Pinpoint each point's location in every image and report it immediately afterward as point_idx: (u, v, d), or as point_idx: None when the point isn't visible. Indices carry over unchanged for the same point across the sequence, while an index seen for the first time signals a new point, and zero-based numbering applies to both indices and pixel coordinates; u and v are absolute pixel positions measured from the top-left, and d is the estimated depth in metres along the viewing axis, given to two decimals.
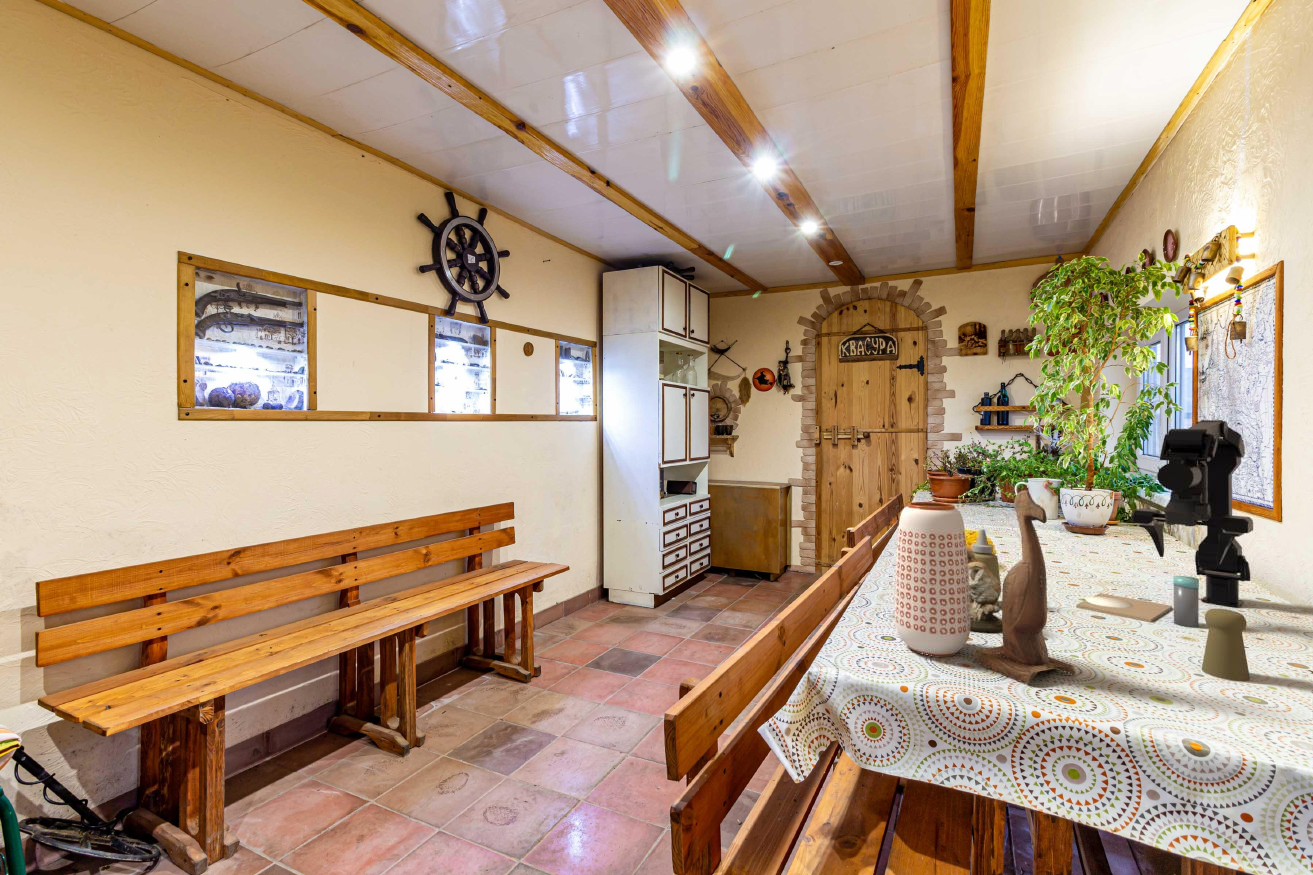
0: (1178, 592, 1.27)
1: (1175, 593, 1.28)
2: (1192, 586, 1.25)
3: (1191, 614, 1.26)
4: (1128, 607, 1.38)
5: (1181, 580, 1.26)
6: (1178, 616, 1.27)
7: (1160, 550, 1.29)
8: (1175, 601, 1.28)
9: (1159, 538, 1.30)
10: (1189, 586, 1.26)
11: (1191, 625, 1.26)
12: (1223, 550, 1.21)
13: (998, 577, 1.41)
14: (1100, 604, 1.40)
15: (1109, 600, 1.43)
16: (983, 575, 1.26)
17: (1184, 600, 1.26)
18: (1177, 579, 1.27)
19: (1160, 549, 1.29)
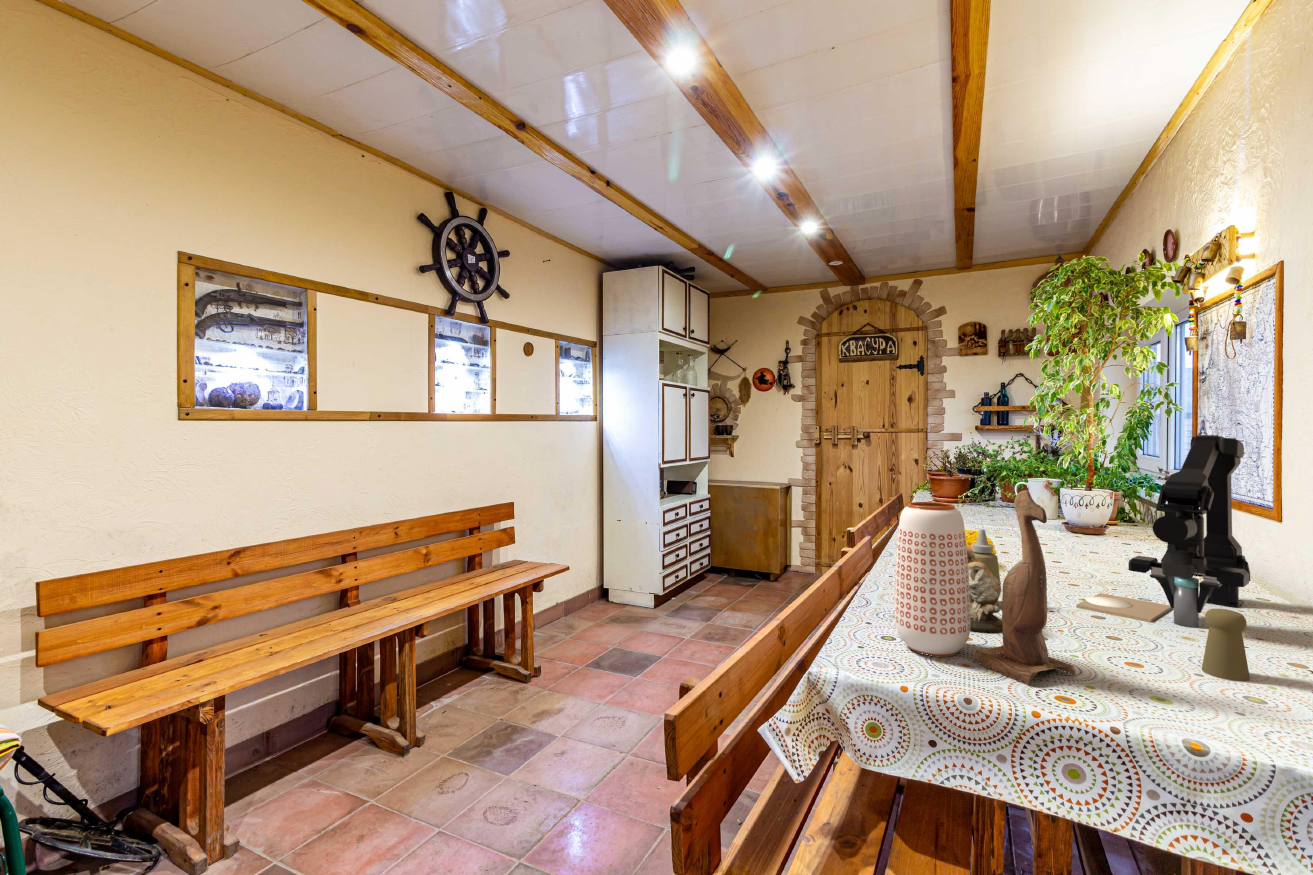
0: (1178, 592, 1.27)
1: (1175, 593, 1.28)
2: (1192, 586, 1.25)
3: (1191, 614, 1.26)
4: (1128, 607, 1.38)
5: (1181, 580, 1.26)
6: (1178, 616, 1.27)
7: (1171, 601, 1.29)
8: (1175, 601, 1.28)
9: (1170, 589, 1.29)
10: (1189, 586, 1.26)
11: (1191, 625, 1.26)
12: (1203, 599, 1.24)
13: (998, 577, 1.41)
14: (1100, 604, 1.40)
15: (1109, 600, 1.43)
16: (983, 575, 1.26)
17: (1184, 600, 1.26)
18: (1177, 579, 1.27)
19: (1171, 600, 1.29)
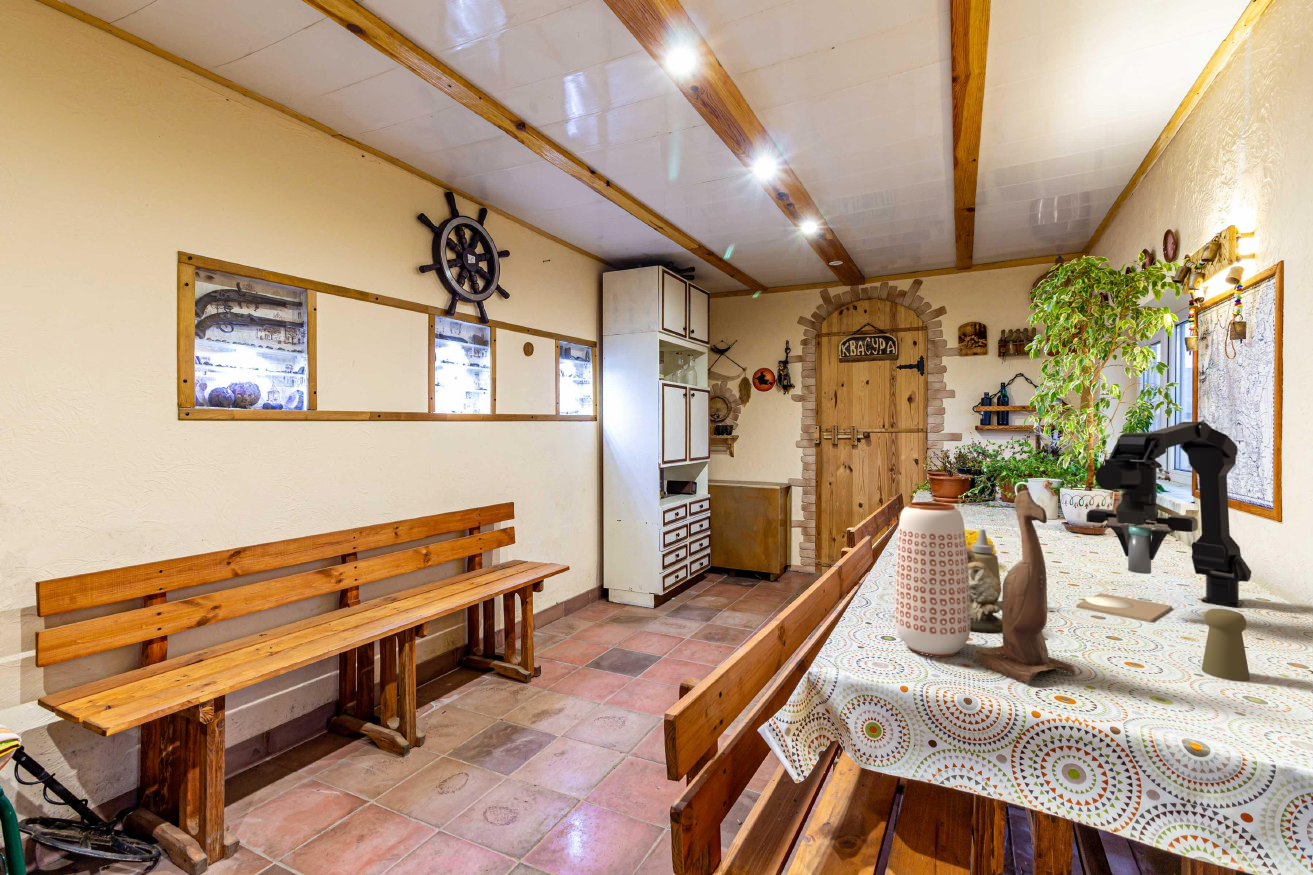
0: (1132, 540, 1.32)
1: (1129, 542, 1.33)
2: (1145, 534, 1.31)
3: (1144, 561, 1.31)
4: (1128, 607, 1.38)
5: (1135, 529, 1.32)
6: (1132, 563, 1.32)
7: (1126, 550, 1.34)
8: (1129, 549, 1.33)
9: (1125, 538, 1.34)
10: (1142, 534, 1.31)
11: (1144, 571, 1.31)
12: (1155, 546, 1.30)
13: (998, 577, 1.41)
14: (1100, 604, 1.40)
15: (1109, 600, 1.43)
16: (983, 575, 1.26)
17: (1137, 547, 1.32)
18: (1131, 528, 1.33)
19: (1126, 549, 1.34)
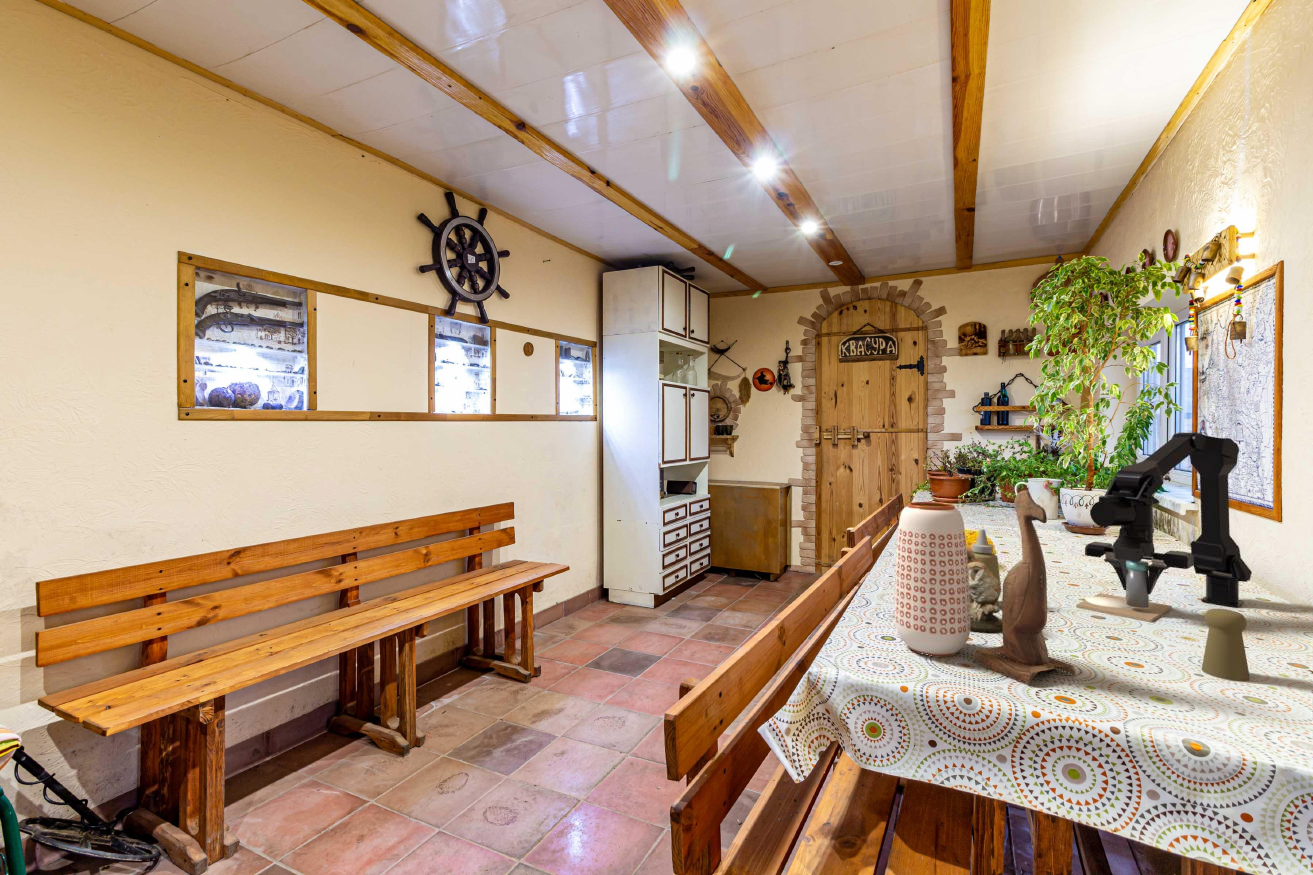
0: (1129, 575, 1.35)
1: (1127, 576, 1.36)
2: (1142, 569, 1.34)
3: (1141, 596, 1.34)
4: (1128, 607, 1.38)
5: (1132, 563, 1.35)
6: (1130, 597, 1.35)
7: (1124, 584, 1.37)
8: (1127, 583, 1.36)
9: (1123, 572, 1.37)
10: (1139, 569, 1.34)
11: (1141, 606, 1.34)
12: (1152, 581, 1.33)
13: (998, 577, 1.41)
14: (1100, 604, 1.40)
15: (1109, 600, 1.43)
16: (983, 575, 1.26)
17: (1135, 582, 1.34)
18: (1128, 563, 1.35)
19: (1124, 583, 1.37)
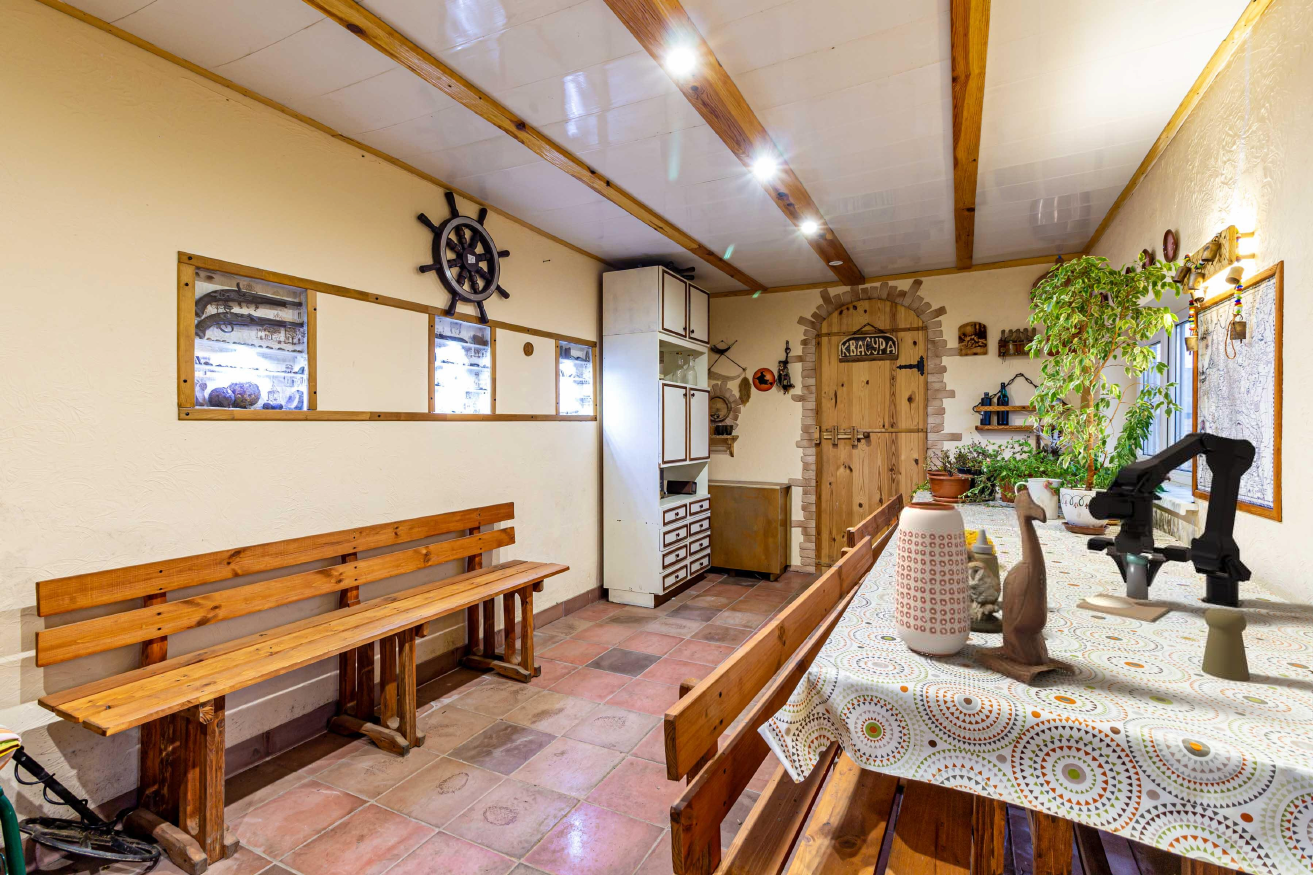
0: (1130, 568, 1.40)
1: (1127, 569, 1.41)
2: (1142, 562, 1.38)
3: (1141, 588, 1.38)
4: (1128, 607, 1.38)
5: (1133, 557, 1.39)
6: (1130, 590, 1.40)
7: (1124, 577, 1.42)
8: (1127, 576, 1.41)
9: (1124, 566, 1.42)
10: (1139, 562, 1.39)
11: (1141, 598, 1.39)
12: (1152, 574, 1.37)
13: (998, 577, 1.41)
14: (1100, 604, 1.40)
15: (1109, 600, 1.43)
16: (983, 575, 1.26)
17: (1135, 575, 1.39)
18: (1129, 556, 1.40)
19: (1124, 576, 1.42)
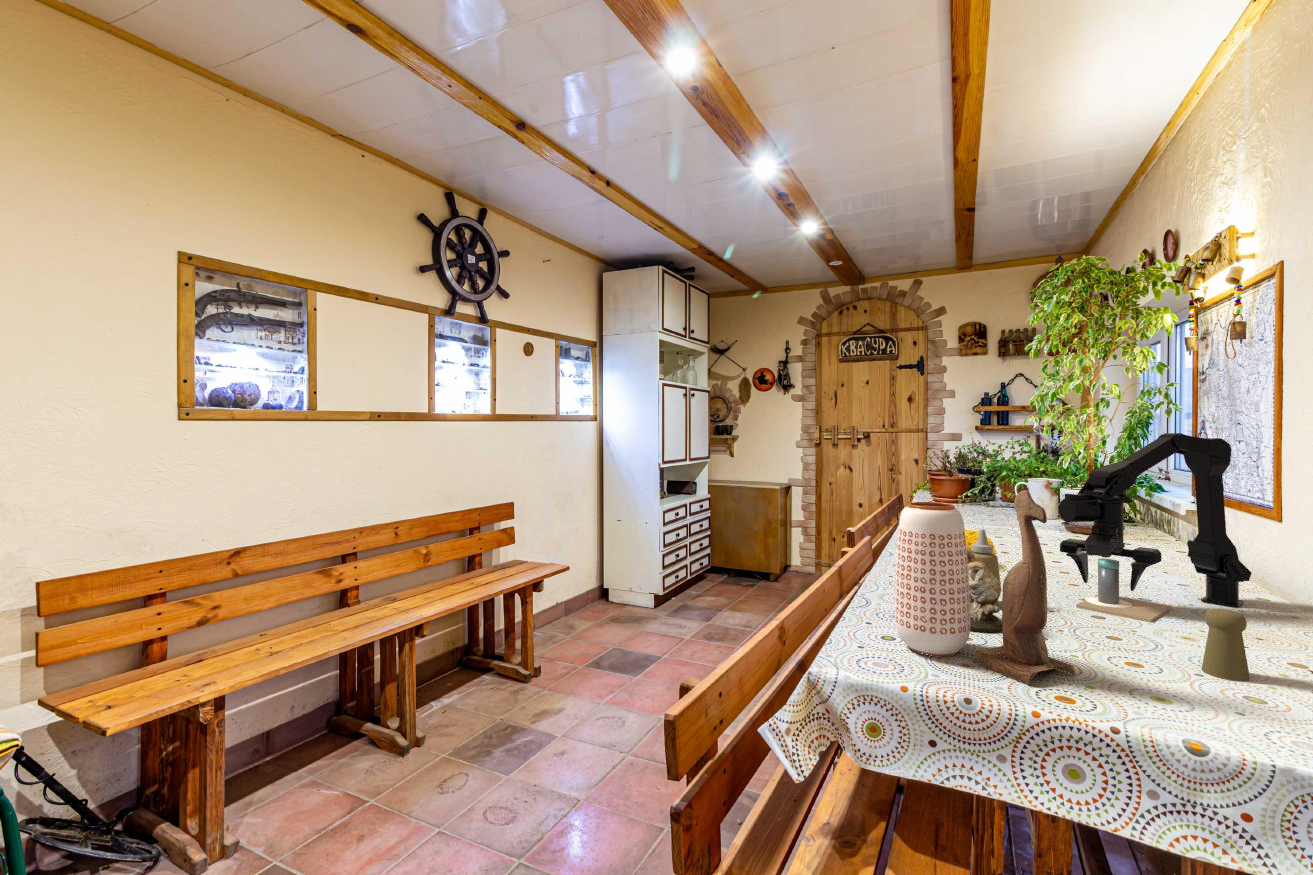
0: (1101, 573, 1.41)
1: (1099, 574, 1.42)
2: (1113, 567, 1.40)
3: (1112, 593, 1.40)
4: (1128, 607, 1.38)
5: (1103, 562, 1.41)
6: (1101, 594, 1.41)
7: (1084, 577, 1.45)
8: (1099, 581, 1.42)
9: (1083, 566, 1.45)
10: (1110, 567, 1.40)
11: (1112, 602, 1.40)
12: (1135, 578, 1.37)
13: (998, 577, 1.41)
14: (1100, 604, 1.40)
15: None
16: (983, 575, 1.26)
17: (1106, 580, 1.41)
18: (1100, 561, 1.42)
19: (1084, 576, 1.45)
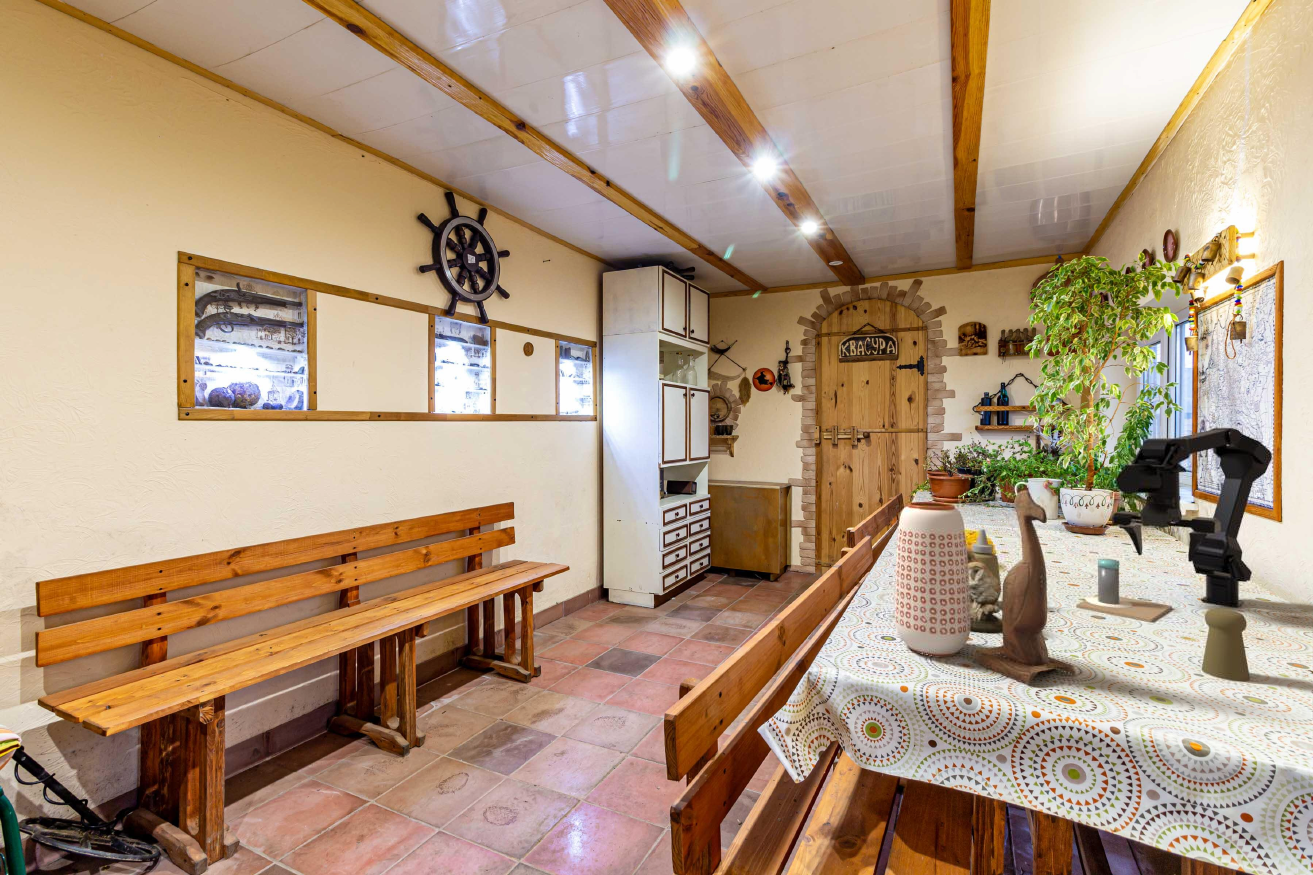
0: (1101, 573, 1.41)
1: (1099, 574, 1.42)
2: (1113, 567, 1.40)
3: (1112, 593, 1.40)
4: (1128, 607, 1.38)
5: (1103, 562, 1.41)
6: (1101, 594, 1.41)
7: (1138, 549, 1.42)
8: (1099, 581, 1.42)
9: (1137, 538, 1.42)
10: (1110, 567, 1.40)
11: (1112, 602, 1.40)
12: (1194, 549, 1.34)
13: (998, 577, 1.41)
14: (1100, 604, 1.40)
15: None
16: (983, 575, 1.26)
17: (1106, 580, 1.41)
18: (1100, 561, 1.42)
19: (1138, 548, 1.42)
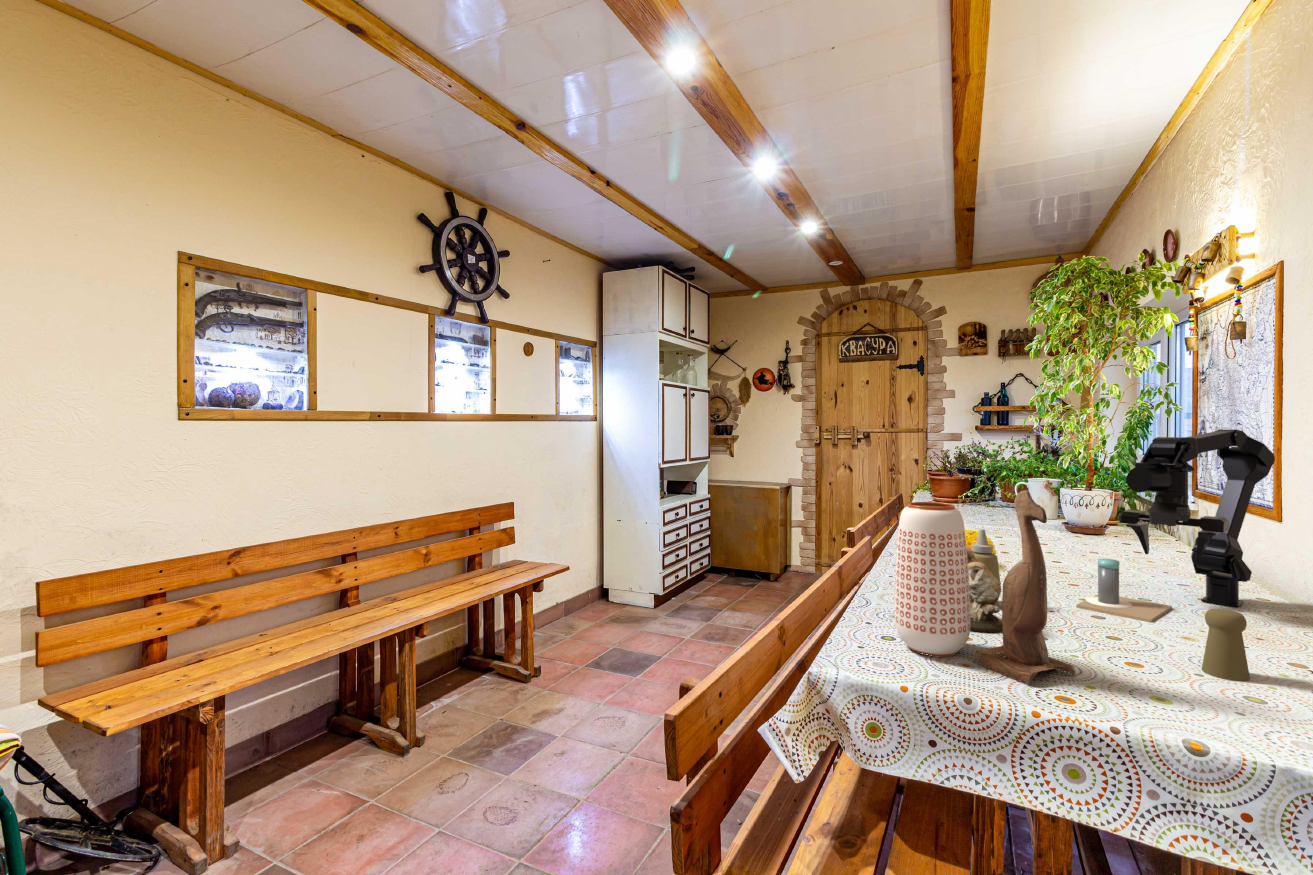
0: (1101, 573, 1.41)
1: (1099, 574, 1.42)
2: (1113, 567, 1.40)
3: (1112, 593, 1.40)
4: (1128, 607, 1.38)
5: (1103, 562, 1.41)
6: (1101, 594, 1.41)
7: (1145, 548, 1.42)
8: (1099, 581, 1.42)
9: (1145, 537, 1.42)
10: (1110, 567, 1.40)
11: (1112, 602, 1.40)
12: (1202, 548, 1.33)
13: (998, 577, 1.41)
14: (1100, 604, 1.40)
15: None
16: (983, 575, 1.26)
17: (1106, 580, 1.41)
18: (1100, 561, 1.42)
19: (1145, 547, 1.42)
